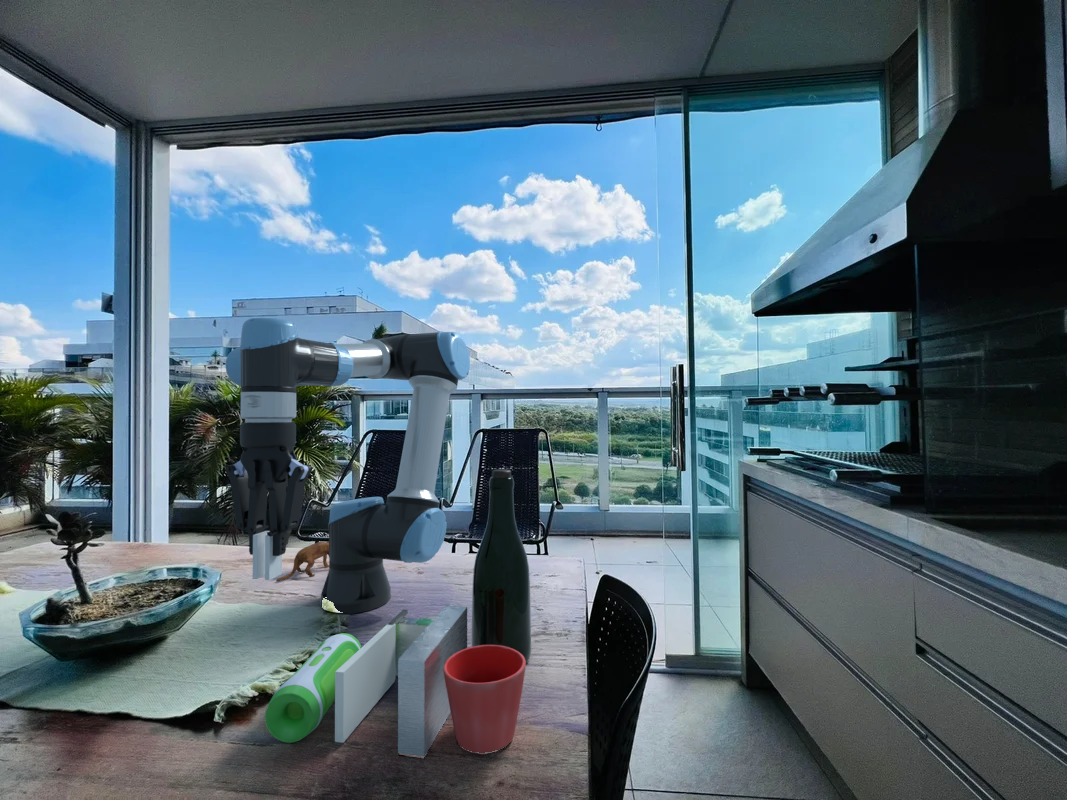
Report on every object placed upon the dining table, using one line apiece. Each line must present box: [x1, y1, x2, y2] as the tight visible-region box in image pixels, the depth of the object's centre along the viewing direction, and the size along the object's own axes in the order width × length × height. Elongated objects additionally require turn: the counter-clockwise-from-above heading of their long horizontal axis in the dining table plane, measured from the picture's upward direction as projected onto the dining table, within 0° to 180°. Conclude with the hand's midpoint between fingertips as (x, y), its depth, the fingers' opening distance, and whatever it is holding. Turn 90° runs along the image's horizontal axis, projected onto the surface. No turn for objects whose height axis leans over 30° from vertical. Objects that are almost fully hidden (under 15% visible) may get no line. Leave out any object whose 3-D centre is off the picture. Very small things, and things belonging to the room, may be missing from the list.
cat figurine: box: [275, 523, 329, 582], centre depth 132 cm, size 18×7×14 cm, turn 143°
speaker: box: [264, 632, 363, 743], centre depth 73 cm, size 18×7×8 cm, turn 179°
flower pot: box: [443, 645, 527, 753], centre depth 66 cm, size 11×11×10 cm
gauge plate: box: [334, 609, 409, 744], centre depth 74 cm, size 1×20×9 cm, turn 170°
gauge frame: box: [395, 605, 468, 756], centre depth 73 cm, size 14×20×12 cm
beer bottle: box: [470, 468, 532, 664], centre depth 87 cm, size 10×10×33 cm
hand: (267, 576), depth 75 cm, fingers closed
